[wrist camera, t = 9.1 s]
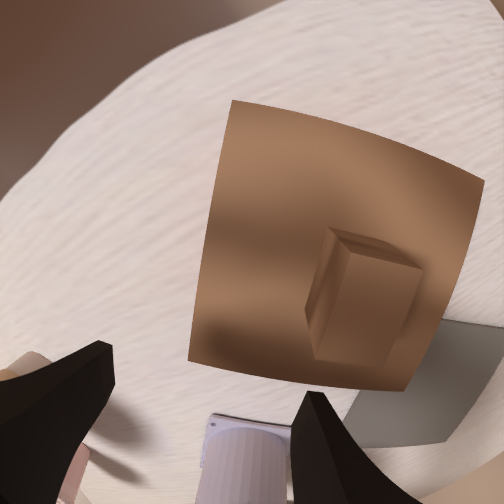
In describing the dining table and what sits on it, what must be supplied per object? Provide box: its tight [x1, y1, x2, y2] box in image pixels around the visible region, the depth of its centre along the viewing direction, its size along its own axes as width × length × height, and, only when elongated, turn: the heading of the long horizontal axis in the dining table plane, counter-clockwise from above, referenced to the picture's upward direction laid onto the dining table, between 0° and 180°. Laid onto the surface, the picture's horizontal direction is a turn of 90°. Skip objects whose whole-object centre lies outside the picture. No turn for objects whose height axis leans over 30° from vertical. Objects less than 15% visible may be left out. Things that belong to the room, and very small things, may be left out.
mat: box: [342, 319, 504, 448], centre depth 21 cm, size 15×15×1 cm
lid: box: [188, 100, 485, 392], centre depth 12 cm, size 13×13×5 cm
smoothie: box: [56, 442, 91, 504], centre depth 20 cm, size 6×6×14 cm
